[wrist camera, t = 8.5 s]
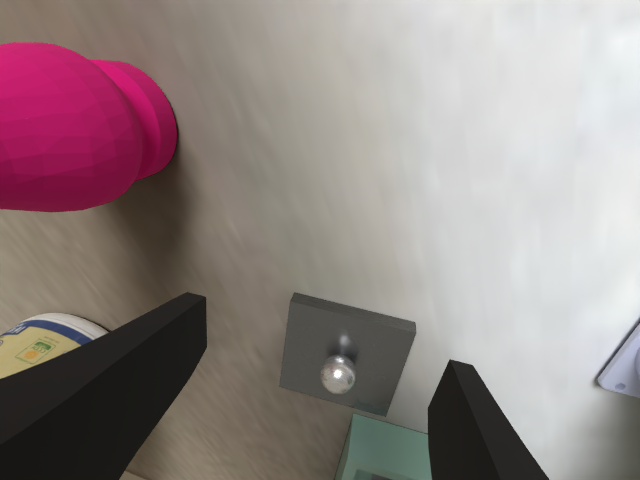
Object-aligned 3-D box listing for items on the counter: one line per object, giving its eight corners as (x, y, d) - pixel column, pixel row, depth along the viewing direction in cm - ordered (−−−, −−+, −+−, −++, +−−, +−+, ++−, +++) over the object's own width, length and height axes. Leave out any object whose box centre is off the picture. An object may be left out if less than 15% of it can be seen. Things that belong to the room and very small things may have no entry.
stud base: (415, 322, 21) (418, 359, 18) (386, 404, 25) (384, 446, 22) (294, 292, 22) (279, 323, 19) (283, 376, 26) (269, 412, 23)
